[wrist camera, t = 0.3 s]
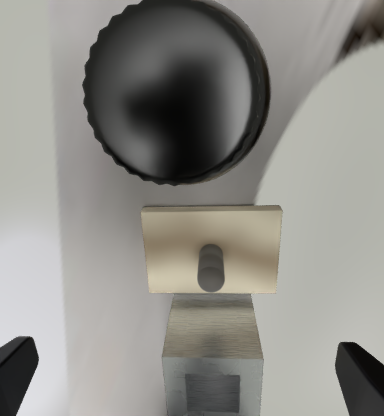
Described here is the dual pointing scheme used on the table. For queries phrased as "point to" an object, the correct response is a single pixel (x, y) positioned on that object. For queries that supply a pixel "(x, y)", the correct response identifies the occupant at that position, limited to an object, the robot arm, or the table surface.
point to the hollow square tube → (212, 356)
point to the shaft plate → (212, 227)
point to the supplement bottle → (177, 90)
